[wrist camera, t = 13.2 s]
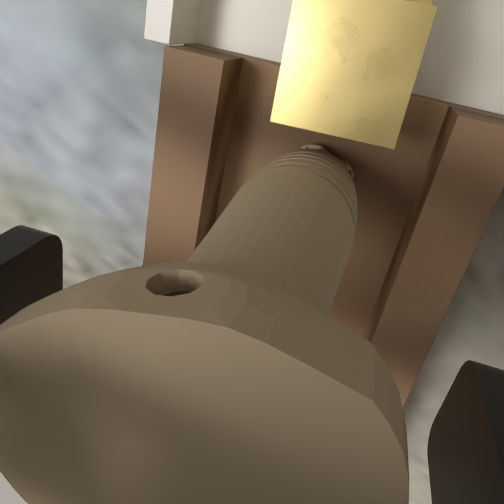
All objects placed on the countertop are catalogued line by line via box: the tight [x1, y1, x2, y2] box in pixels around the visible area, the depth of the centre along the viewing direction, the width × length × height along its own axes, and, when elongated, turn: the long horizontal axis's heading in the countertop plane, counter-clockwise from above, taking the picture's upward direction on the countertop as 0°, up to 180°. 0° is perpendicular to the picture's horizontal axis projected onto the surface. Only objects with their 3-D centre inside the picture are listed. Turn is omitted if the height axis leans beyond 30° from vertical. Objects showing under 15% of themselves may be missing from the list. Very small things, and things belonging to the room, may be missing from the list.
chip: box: [270, 0, 438, 149], centre depth 16 cm, size 4×4×4 cm
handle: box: [0, 143, 409, 504], centre depth 13 cm, size 5×6×15 cm
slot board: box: [143, 43, 504, 408], centre depth 22 cm, size 17×13×4 cm
